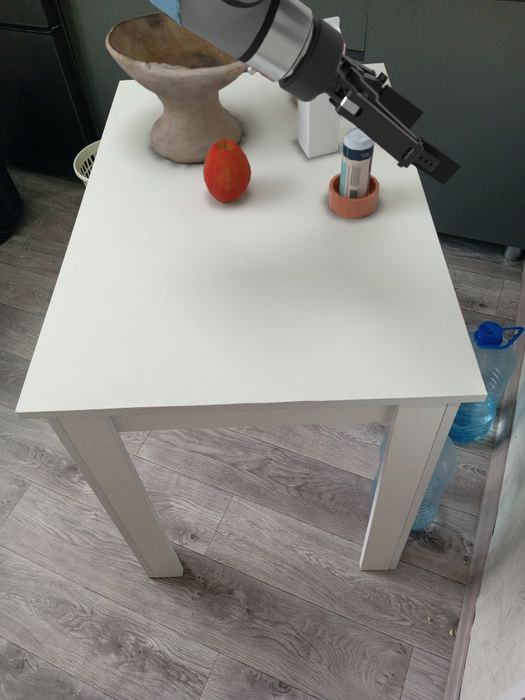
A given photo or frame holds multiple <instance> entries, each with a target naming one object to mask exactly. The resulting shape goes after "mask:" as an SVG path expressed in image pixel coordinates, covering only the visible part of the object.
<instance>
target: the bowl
mask: <svg viewBox="0 0 525 700" xmlns="http://www.w3.org/2000/svg"><path fill="white" fill-rule="evenodd" d="M105 47H106V49H107V50H108V52H109V54H110V55H111V57H112V58H113V59H114V61H115V62H116V63H117V64H118V65H119V66H120V67H121V69H122V70H123V71H124V72H125V73H126V74H127V75H128V76H129V77H130V78H131V79H133V80H134V81H135V82H137V84H139V85H140V86H142V87H143V88H145V89H146V90H148V91H149V92H151V93H153V94H155V95H156V97H157V98H158V99H159V101H160V102H161V104H162V107H163V112H162V115H160V117H158V118H157V119H156V120H155V122H154V123H153V125H152V128H151V131H150V135H149V136H150V137H149V139H150V144H151V147H152V149H153V151H154V152H155V153H156V154H157V155H158V156H161V157H162V158H164V159H167V160H170V161H172V162H174V163H179V164H199V163H201V164H202V163H205V160H206V157H207V154H208V152H209V150H210V148H211V147H212V145H213V144H214V143H216V142H218V141H219V140H222V139H229V140H232V141H234V142H235V143H236V144H237V145H239V143H240V142H241V139H242V134H243V127H242V124H241V123H240V121H239V119H237V117H236V116H234V115H233V113H231V111H230V110H228V109H227V108H225V107H224V106H223V104H222V103H221V101H220V95H219V92H220V91H221V90H223V89H225V88H227V87H228V86H230V84H232V83H233V82H235V81H237V79H238V78H239V77H240V76H241V75H243V74H244V73H245V72H246V71H247V69H248V66H247V65H245V64H244V63H242V62H240V61H239V60H237V59H235V58H233V57H232V56H230V55H229V54H227V53H225V52H224V51H222V50H220V49H219V48H217V47H216V46H214V45H212V44H211V43H209V42H207V41H206V40H204V39H203V38H201V37H199V36H198V35H196V34H194V33H193V32H191V31H190V30H188V29H186V28H185V27H181V26H179V24H178V23H177V21H176V20H174V19H173V18H171V17H170V16H169V15H167V14H166V13H164V12H163V11H161V12H154V13H148V14H144V15H137V16H133V17H130V18H127V19H125V20H122V21H120V22H118V23H116V24H115V25H114V26H113V27H111V29H110V31H109V32H108V34H107V35H106V38H105Z"/></svg>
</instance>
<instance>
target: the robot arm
mask: <svg viewBox="0 0 525 700" xmlns="http://www.w3.org/2000/svg"><path fill="white" fill-rule="evenodd" d="M149 2H150V3H151V4H152V5H153V6H154V7H155V8H156V9H159V10H160V11H161V12H164V13H166V14H167V15H169V16H170V17H171V18H173V19H174V20H176V21H177V23H178V24H179V26H181V27H185V28H186V29H188V30H190V31H191V32H193V33H194V34H196V35H198V36H199V37H201V38H203V39H204V40H206V41H207V42H209V43H211V44H212V45H214V46H216V47H217V48H219V49H220V50H222V51H224V52H225V53H227V54H229V55H230V56H232V57H233V58H235V59H237V60H239V61H240V62H242V63H244V64H245V65H247V66H248V68H247V69H246V71H247V72H248V74H249V75H251V76H253V75H255V74H256V73H259V74H260V75H261V76H262V77H264V78H265V79H267V80H269V81H270V82H272V83H278V86H279V88H280V89H281V90H283V91H285V92H286V93H288V94H289V95H291V96H293V97H294V98H295V97H296V98H297V99H299V100H301V101H303V102H309V101H312V100H314V99H315V98H316V97H317V96H318V95H320V94H322V93H327V94H328V96H330V98H329V102H330V103H331V104H332V105H334V106H335V107H336V108H335V111H336V112H337V114H338V115H340V117H342V118H344V119H345V120H346V121H348V122H350V123H351V124H353V126H355V128H359V129H360V130H361V131H362V132H363V133H364V134H366V135H367V136H368V137H369V138H370V139H372V140H373V141H374V142H375V143H374V144H376V145H377V146H379V147H380V148H381V149H382V150H384V151H385V152H386V153H388V155H389V156H390V157H392V158H393V159H394V160H396V161H397V163H396V166H398V167H399V168H400V169H402V168H405V169H408V168H409V167H410V166H414V167H415V168H416V169H418V170H420V171H421V172H423V173H424V174H426V175H427V176H429V177H430V178H432V179H433V180H435V181H437V182H438V183H439V184H441V185H443V186H445V184H447V183H448V182H449V181H450V180H451V178H452V177H454V175H455V174H456V173H457V172H459V170H460V169H461V168H462V167H463V166H462V164H461V163H460V162H459V161H457V160H456V159H455V158H454V157H451V156H450V155H448V154H447V153H446V152H444V151H443V150H441V149H440V148H438V147H437V146H435V145H434V144H432V143H431V142H430V141H428V140H427V139H425V138H424V137H423V136H421V135H420V136H416V134H415V133H413V132H412V131H411V129H412V127H414V125H415V124H416V123H417V122H418V120H420V118H421V116H422V115H424V113H425V112H424V110H423V109H422V108H421V107H419V106H418V105H417V104H415V103H414V102H412V101H411V100H410V99H409V98H407V97H405V96H404V95H402V94H401V93H400V92H399V91H397V90H396V89H394V88H393V87H391V86H390V85H389V84H388V83H386V82H387V80H388V79H389V77H388V75H387V74H386V73H384V72H383V71H381V72H380V73H379V74H378V76H377V73H376V71H375V70H374V69H371V68H370V67H369V66H366V65H364V64H362V63H361V62H359V61H357V60H355V59H353V58H351V57H350V56H348V55H346V54H345V55H344V54H343V51H344V42H345V38H344V35H343V33H342V32H341V33H340V32H339V31H338V30H336V29H335V28H334V27H332V26H331V25H330V24H328V23H327V22H326V21H324V20H323V19H324V18H322V17H320V16H319V15H316V16H313V11H312V9H311V8H310V7H308V6H307V5H305V3H303V2H301V1H300V0H149ZM384 84H385V85H384Z"/></svg>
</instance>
